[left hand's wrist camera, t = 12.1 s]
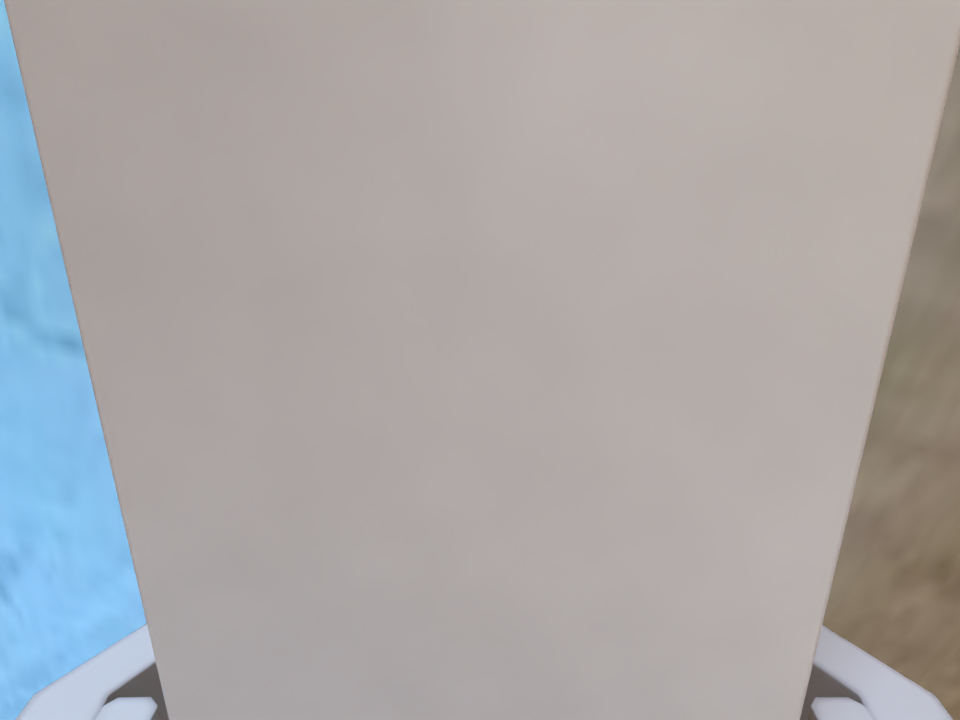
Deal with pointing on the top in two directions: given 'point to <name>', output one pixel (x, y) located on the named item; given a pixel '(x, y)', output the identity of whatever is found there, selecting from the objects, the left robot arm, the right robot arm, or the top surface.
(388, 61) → the bar
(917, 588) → the top surface
